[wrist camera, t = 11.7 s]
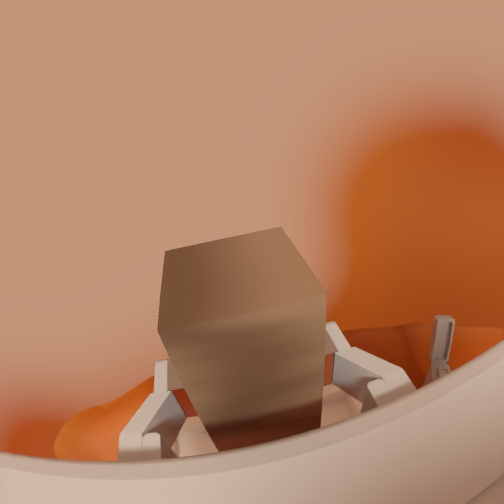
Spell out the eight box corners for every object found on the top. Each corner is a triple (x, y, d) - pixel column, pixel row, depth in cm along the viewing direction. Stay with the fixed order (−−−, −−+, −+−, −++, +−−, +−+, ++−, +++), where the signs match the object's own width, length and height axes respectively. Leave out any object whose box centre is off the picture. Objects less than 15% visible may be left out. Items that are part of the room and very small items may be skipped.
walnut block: (294, 396, 15) (280, 226, 11) (317, 457, 12) (326, 292, 7) (222, 413, 15) (165, 251, 10) (234, 477, 12) (157, 330, 7)
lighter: (438, 424, 21) (469, 371, 17) (421, 425, 22) (449, 372, 18) (432, 367, 27) (452, 310, 23) (417, 367, 27) (435, 310, 23)
